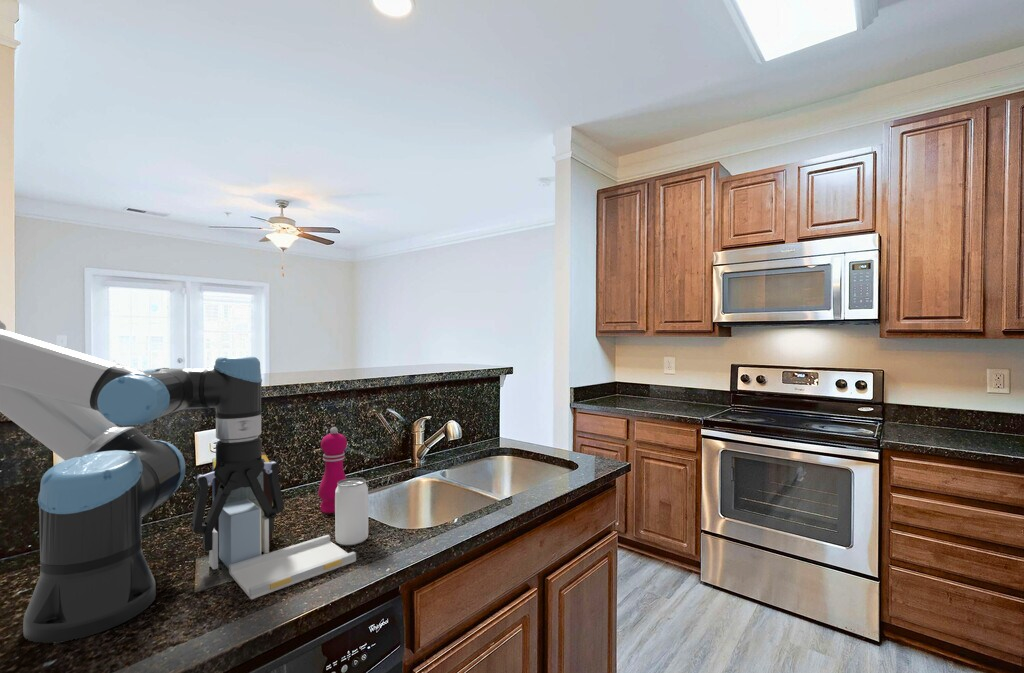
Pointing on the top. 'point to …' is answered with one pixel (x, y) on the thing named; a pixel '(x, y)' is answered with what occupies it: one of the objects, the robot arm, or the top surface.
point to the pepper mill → (332, 468)
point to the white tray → (288, 566)
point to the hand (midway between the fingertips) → (239, 558)
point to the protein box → (244, 492)
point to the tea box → (239, 532)
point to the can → (351, 511)
